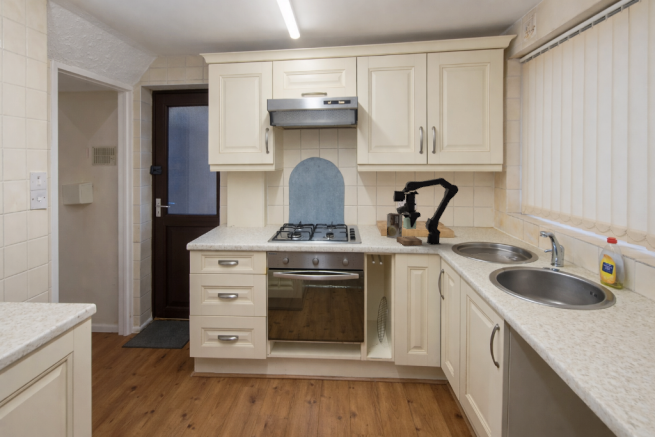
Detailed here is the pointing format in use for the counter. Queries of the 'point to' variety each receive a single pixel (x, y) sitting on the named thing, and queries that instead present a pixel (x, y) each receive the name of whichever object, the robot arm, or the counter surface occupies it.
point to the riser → (409, 241)
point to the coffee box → (394, 225)
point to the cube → (408, 224)
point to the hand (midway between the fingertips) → (409, 226)
